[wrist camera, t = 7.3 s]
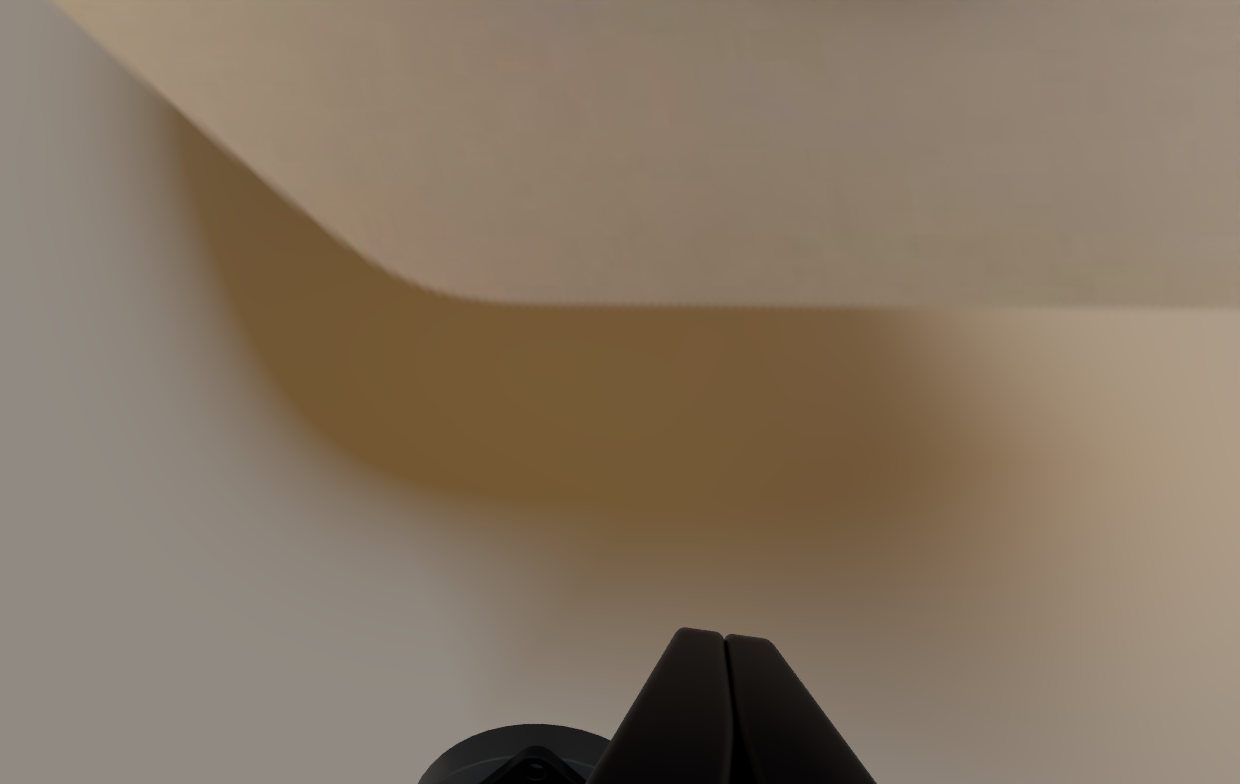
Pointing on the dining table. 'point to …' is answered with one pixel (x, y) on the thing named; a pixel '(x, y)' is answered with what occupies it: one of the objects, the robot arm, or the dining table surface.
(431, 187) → the dining table surface
